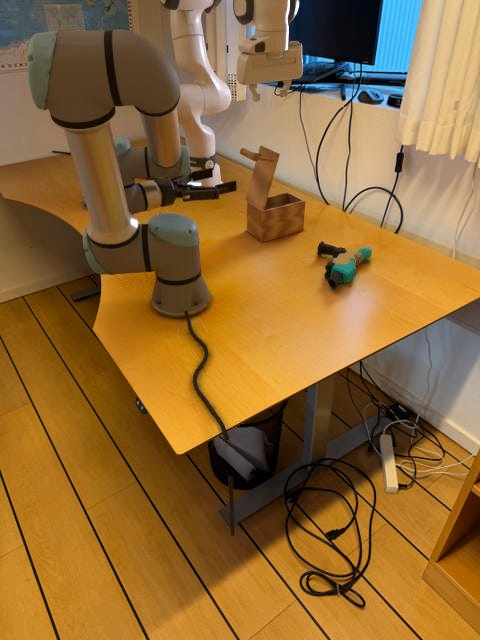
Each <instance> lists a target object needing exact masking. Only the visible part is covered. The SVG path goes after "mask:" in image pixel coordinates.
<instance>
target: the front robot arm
mask: <svg viewBox="0 0 480 640" xmlns="http://www.w3.org/2000/svg"><path fill="white" fill-rule="evenodd" d="M26 59H27V60H26V62H27V63H26V65H27V76H28V77H27V78H28V84H29V90H30V95H31V97H32V101H33V104H34V105H35V107H36V108H37V109H39V110H42V111H47V110H48V112H49V115H50V118H51V121H52V122H53V124H54V125H55V126H57V127H59V128H61V129H62V130H63V132H64V135H65V138H66V141H67V145H68V148H69V153H71V154H70V156H71V158H72V162H73V166H74V169H75V173H76V175H77V179H78V182H79V185H80V189H81V192H82V195H83V196H84V199H85V202H86V205H87V206H86V209H87V212H88V216H89V218H90V219H89V221H88V223H87V225H86V227H85V229H84V230H83V233H82V245H83V246H82V247H83V250H84V256H85V258H86V261H87V264H88V266H89V267H90V268H91V270H92V271H93V272H94V273H95V274H97V275H101V276H103V275H104V276H105V275H109V276H117V275H125V274H139V273H140V274H141V273H153V272H154V274H155V275H154V276H155V281H154V284H153V290H152V294H151V305H152V308H153V310H154V311H155V312H156V313H157V314H159V315H160V316H163V317H167V318H171V319H183V318H185V319H186V323H187V328H188V332H189V333H190V335H191V336H192V338H193V339H194V340H195V341H196V342H197V343H198V344H199V345H200V346H201V347H202V349H203V351H204V355H203V358H202V360H201V361H200V363H199V365H198V366H197V367H196V369H195V370H194V372H193V375H192V385H193V388H194V391H195V393H196V394H197V396H198V397H199V399H201V401H202V402H203V403H204V405H205V406H206V408H207V410H208V411H209V413H210V414H211V416H212V417H213V418H214V420H215V421H216V422H217V424H218V426H219V428H220V430H221V433H222V436H223V439H224V441H225V442H228V441H230V437H229V433H228V429H227V427H226V425H225V423H224V421H223V420H222V418H221V417H220V415H219V414H218V412H216V410H215V409H214V408H213V406H212V404H211V403H210V401H209V400H208V399H207V397H206V396H205V394H204V393H203V392H202V391H201V389H200V387H199V385H198V376H199V373H200V372H201V370H202V368H203V367H204V366H205V365H206V363H207V361H208V359H209V349H208V346H207V345H206V343H205V342H204V341H203V340H202V339H201V338H200V337H199V336H198V335H197V334H196V333H195V331H194V328H193V326H192V321H191V317H194V316H196V315H199V314H201V313H202V312H204V311H205V310H207V308H208V307H209V306H210V303H211V294H210V293H211V292H210V290H209V288H208V286H207V284H206V281H205V278H204V277H203V275H202V262H201V261H202V260H201V251H200V244H201V238H200V234H199V228H198V225H197V224H196V222H195V221H194V220H193V219H192V218H190V217H187V216H186V215H183V214H179V213H171V212H170V213H168V212H164V213H159V214H155V215H153V216H151V217H150V218H149V219H148V221H147V223H139V221H138V219H137V217H136V216H135V214H139V213H142V212H151V211H152V210H155V209H159V208H165V207H169V206H173V205H174V204H175V201H176V199H182V202H184V203H187V202H191V201H194V202H195V201H212V200H219V199H220V195H224V194H230V193H233V192H237V180H232V181H228V182H227V181H226V182H223V183H222V184H218V185H215V187H206V186H193V184H188V183H189V182H190V181H191V180H192V179H193V181H198V180H202V179H207V178H211V177H213V168H207V169H202V170H198V171H193V172H192V173H191V169H190V159H189V148H188V147H187V146H186V144H181V135H180V127H179V126H180V124H179V123H178V116H177V106H178V103H179V101H180V84H181V83H180V79H179V75H178V73H177V71H176V69H175V67H174V65H173V64H172V62H171V61H170V60H169V58H168V56H167V55H166V54H165V53H164V52H163V51H162V50H161V49H160V48H159V47H158V45H156V44H154V43H153V41H151V40H149V39H147V38H146V37H145V36H143V35H140V34H139V33H136V32H133V31H130V30H127V29H123V28H122V29H121V28H119V29H116V28H115V29H97V30H96V29H95V30H88V29H87V30H60V29H55V30H54V31H43V32H42V31H41V32H37V33H35V34H33V35H32V36H31V37H30V39H29V41H28V46H27V58H26ZM130 106H131V107H134V108H135V110H136V111H137V112H138V113H139V116H140V121H141V124H142V128H143V131H144V135H145V139H146V143H147V146H135V147H134V146H131V143H130V140H129V139H127V138H124V137H114V135H113V131H112V126H111V122H112V121H113V119H114V118H115V116H116V114H117V113H116V112H117V110H116V107H130ZM153 177H154V178H160V179H149V180H145V181H142V182H136V179H147V178H153ZM163 177H168V178H163ZM233 479H234V478H233V475H227V482H228V485H227V486H228V501H229V503H228V505H229V527H230V536H231V537H234V536H235V535H236V531H235V529H236V528H235V499H234V498H235V497H234V496H235V495H234V480H233Z"/></svg>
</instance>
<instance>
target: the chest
mask: <svg viewBox="0 0 480 640" xmlns="http://www.w3.org/2000/svg"><path fill="white" fill-rule="evenodd" d="M305 213H306V200H305V199H303V198H301V197H300V196H297V195H296V194H294V193H292V192H290V191H285V192H281V193H277V194H273V195H268V198H267V201H266V205H265V208H264V210H261V209H259V208H258V207H256V206H255V205H253V204H251V203H250V202H248V201H247V200H246V232H248V233H249V234H251V236H253V237H255V238H256V239H257V240H258V241H260V242H261V243H263V242H268V241H271V240H275V239H278V238H282V237H285V236H288V235H292V234H295V233H299V232H303V231H304V230H305V229H304V227H305Z"/></svg>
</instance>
